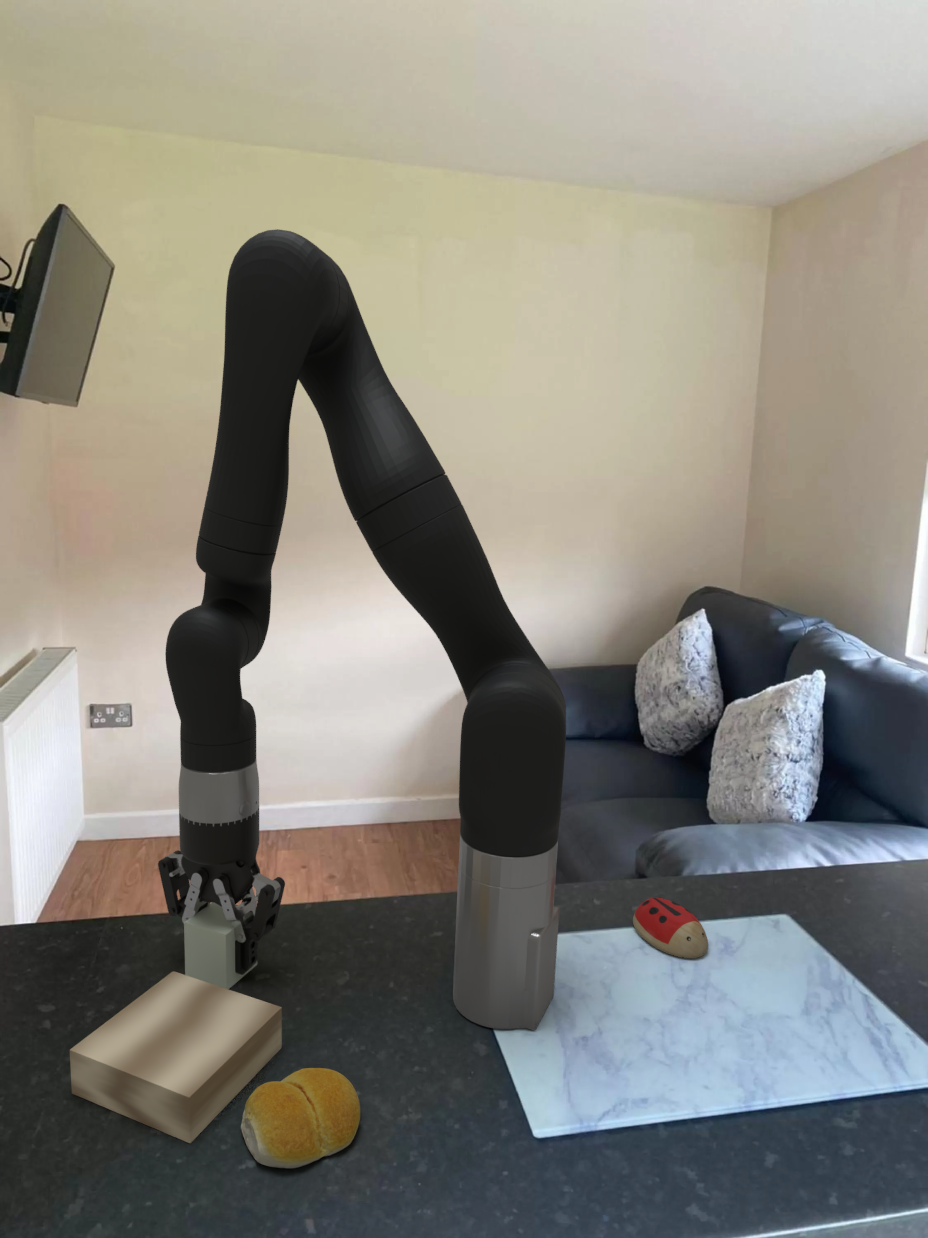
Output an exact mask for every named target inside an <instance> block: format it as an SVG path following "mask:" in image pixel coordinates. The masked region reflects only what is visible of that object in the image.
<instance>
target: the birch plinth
mask: <svg viewBox="0 0 928 1238" xmlns="http://www.w3.org/2000/svg"><path fill="white" fill-rule="evenodd" d="M282 1013H283V1007H282V1006H279V1005H276V1004H273V1003H270V1002H267V1001H264V1000H263V999H262V1000H261V999H258V998H256V997H253V996H252V997H251V996H249V995H246V994H243V993H240V992H238V991H235V990H231V989H230V988H229V989H226V988H223V987H220V986H216V985H213V984H210V983H207V982H204V981H201V980H198V979H195V978H192V977H189V976H186V975H185V974H183V973H180V972H177V971H171V972H170V973H168V974H167V975H166V976H164V977H163V978H162V979H161V980H160V981H158V982H157V983H155V984H154V985H152V986H151V987H150V988H149V989H147V991H145V992H144V993H142V994H141V995H139V996H138V997H137V998H136V999H134V1000H133V1001H132V1002H130V1003H129V1004H128V1005H126V1006H125V1007H123V1009H121V1010H120V1011H119V1012H118V1013H116V1014H114V1016H113V1017H111V1018H110V1019H108V1020H107V1021H106V1022H104V1023H103V1024H102V1025H100V1026H99V1027H98V1028H97V1029H95V1030H94V1031H92V1032H91V1033H90V1034H88V1035H87V1036H86V1037H85V1038H83V1039H82V1040H81V1041H79V1042H78V1043H76V1044H75V1045H73V1047H72V1048H70V1049H69V1063H70V1064H69V1065H70V1080H71V1081H70V1084H71V1085H70V1086H71V1095H74V1096H76V1097H78V1098H82V1099H84V1100H87V1101H89V1102H92V1103H94V1104H95V1105H98V1106H101V1107H103V1108H105V1109H108V1110H110V1111H112V1112H115V1113H117V1114H119V1115H122V1116H124V1117H127V1118H128V1119H131V1120H133V1121H136V1122H138V1123H140V1124H144V1125H145V1126H148V1127H150V1128H153V1129H155V1130H157V1131H160V1132H162V1133H164V1134H166V1135H169V1136H172V1137H174V1138H175V1139H176V1138H177V1140H181V1141H183V1142H186V1143H188V1144H192V1142H194V1141H195V1139H196V1138H198V1137H199V1135H200V1133H202V1132H203V1131H204V1130H205V1129H206V1127H208V1125H210V1124H211V1123H212V1121H213V1120H214V1119H216V1118H217V1116H218V1115H219V1114H220V1113H221V1112H222V1111H223V1110H224V1109H225V1108H226V1107H227V1106H228V1104H230V1102H232V1101H233V1099H235V1097H236V1096H237V1095H238V1094H239V1093H240V1092H241V1091H242V1090H243V1089H244V1088H245V1087H246V1086H247V1085H248V1084H249V1083H250V1082H251V1080H252V1079H254V1077H256V1075H257V1074H258V1073H259V1072H260V1071H261V1070H262V1069H263V1068H264V1067H265V1066H266V1065H267V1064H268V1062H270V1061H271V1060H272V1058H273V1057H274V1056H275V1055H276V1054H278V1052H279V1051H280V1050H281V1049H282V1048H283V1047H282V1046H283V1045H282V1043H283V1041H282V1040H283V1033H282V1032H283V1028H282V1027H283V1022H282V1021H283V1017H282V1016H283V1014H282Z"/></svg>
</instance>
